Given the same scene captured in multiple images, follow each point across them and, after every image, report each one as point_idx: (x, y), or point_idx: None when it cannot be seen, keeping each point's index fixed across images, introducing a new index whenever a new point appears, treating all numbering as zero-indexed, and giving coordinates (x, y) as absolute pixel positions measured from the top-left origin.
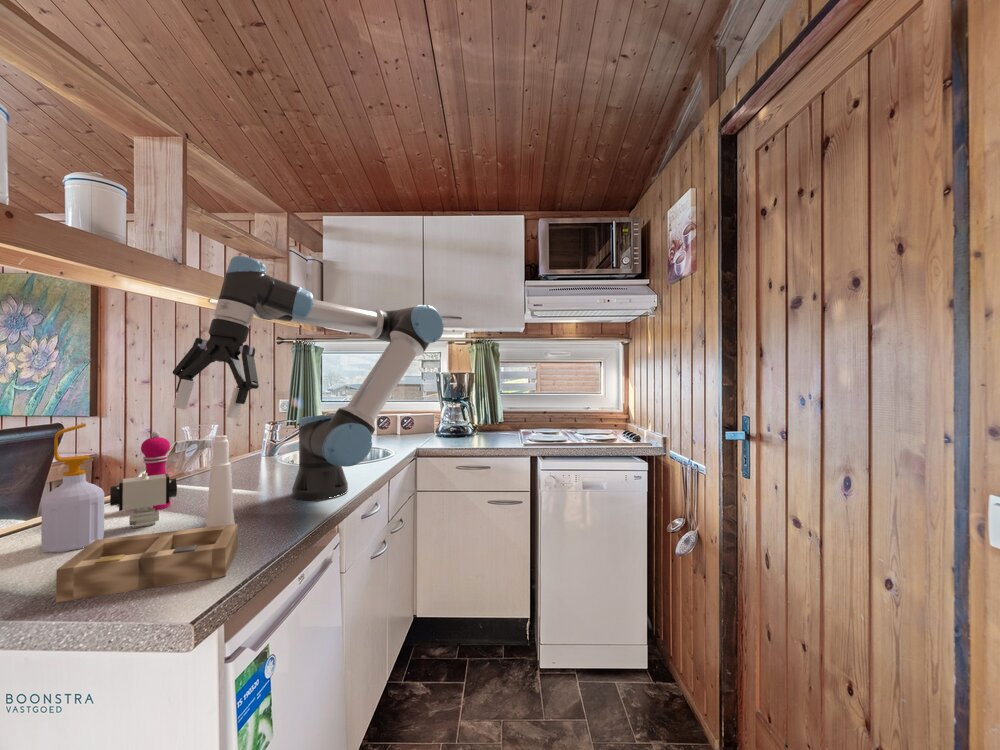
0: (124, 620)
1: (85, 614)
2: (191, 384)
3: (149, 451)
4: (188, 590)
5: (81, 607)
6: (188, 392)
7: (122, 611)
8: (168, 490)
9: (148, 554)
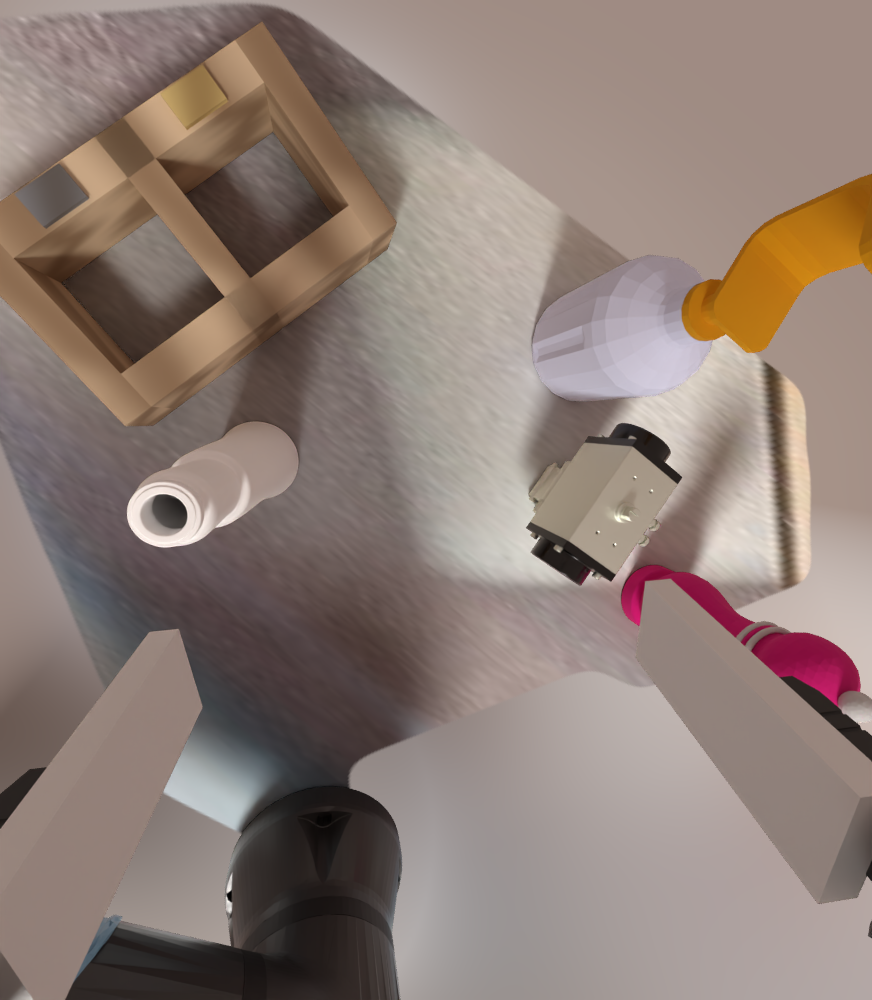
0: (14, 22)
1: (141, 39)
2: (789, 839)
3: (783, 640)
4: (22, 181)
5: (189, 68)
6: (722, 747)
7: (69, 61)
8: (543, 534)
9: (131, 150)
